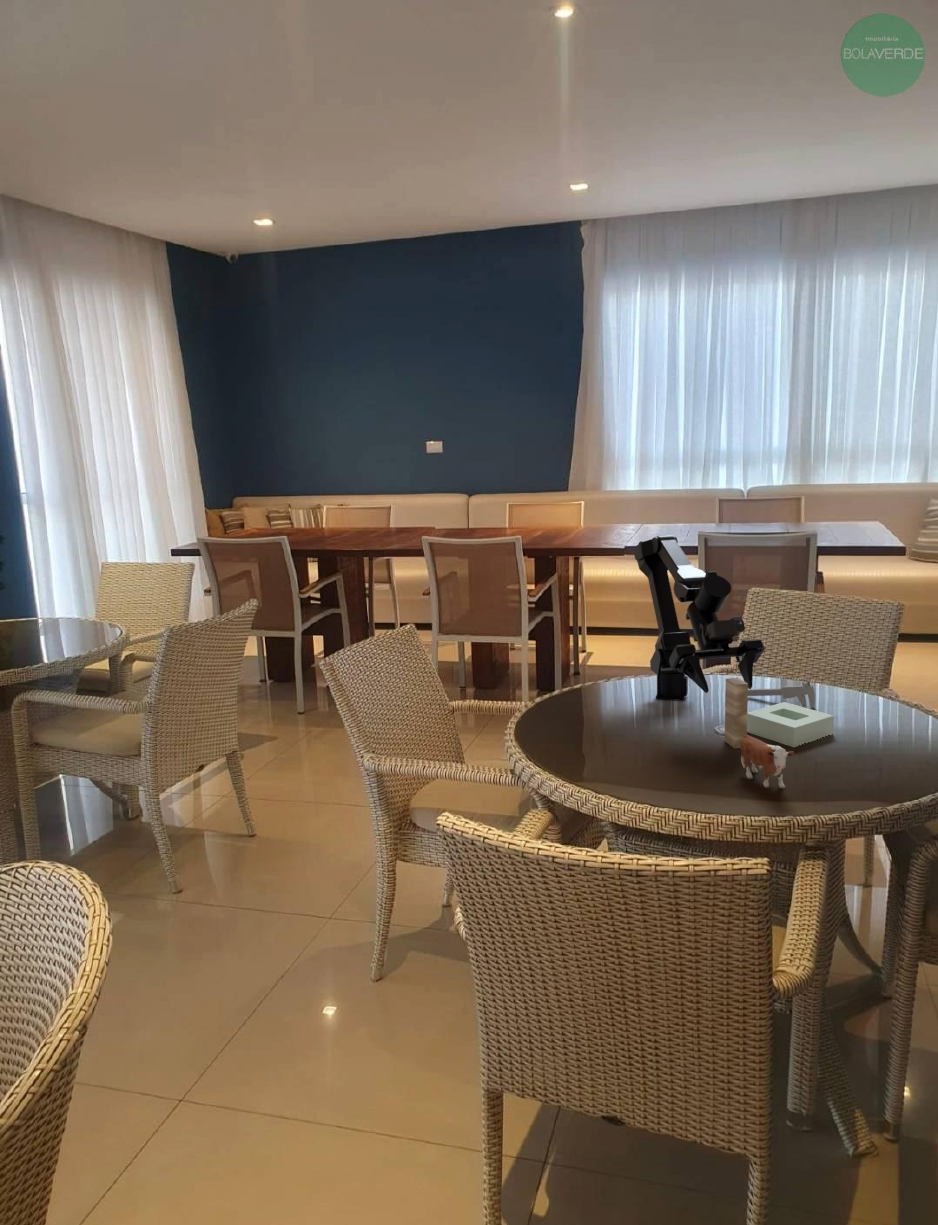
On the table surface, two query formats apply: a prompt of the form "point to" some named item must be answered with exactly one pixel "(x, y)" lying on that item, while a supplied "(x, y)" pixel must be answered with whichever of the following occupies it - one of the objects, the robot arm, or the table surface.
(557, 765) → the table surface
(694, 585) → the robot arm
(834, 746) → the table surface
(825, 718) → the end cap
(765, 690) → the caliper
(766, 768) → the bull figurine
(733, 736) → the slat
